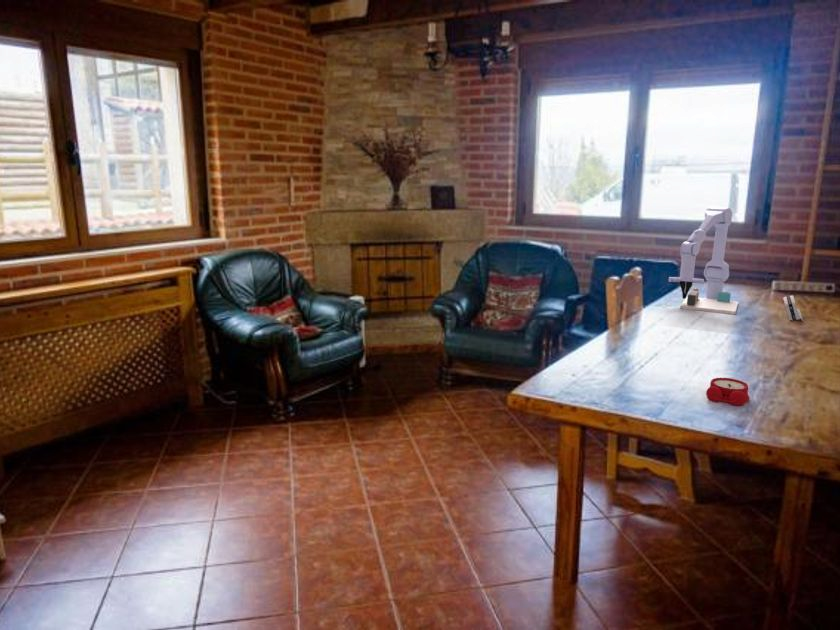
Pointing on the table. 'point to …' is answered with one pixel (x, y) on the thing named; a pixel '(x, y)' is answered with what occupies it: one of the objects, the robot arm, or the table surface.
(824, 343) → the table surface
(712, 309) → the board
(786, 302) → the hinge
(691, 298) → the folding leg
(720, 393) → the alarm clock
